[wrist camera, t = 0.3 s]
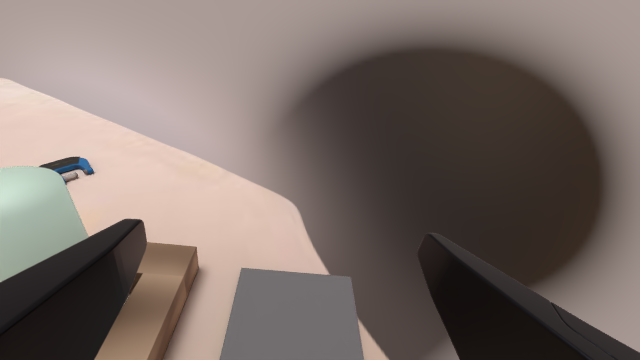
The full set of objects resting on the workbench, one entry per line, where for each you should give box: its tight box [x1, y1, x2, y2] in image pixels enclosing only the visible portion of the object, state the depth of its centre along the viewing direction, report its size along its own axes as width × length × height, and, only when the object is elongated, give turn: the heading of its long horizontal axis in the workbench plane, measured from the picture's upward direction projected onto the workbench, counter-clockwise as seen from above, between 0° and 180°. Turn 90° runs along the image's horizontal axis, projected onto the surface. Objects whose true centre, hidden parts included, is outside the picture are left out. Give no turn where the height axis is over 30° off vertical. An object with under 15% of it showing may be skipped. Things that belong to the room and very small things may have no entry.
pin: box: [0, 166, 119, 317], centre depth 16 cm, size 4×4×13 cm
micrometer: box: [39, 157, 94, 184], centre depth 29 cm, size 12×2×5 cm
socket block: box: [95, 242, 199, 360], centre depth 18 cm, size 12×12×3 cm
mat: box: [220, 268, 364, 360], centre depth 22 cm, size 11×11×1 cm
